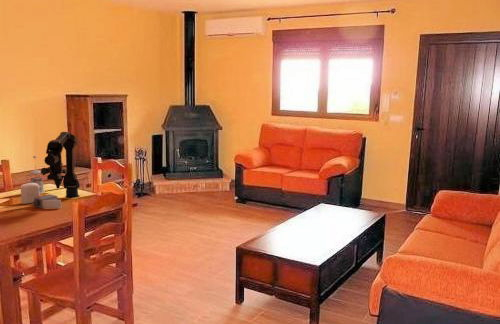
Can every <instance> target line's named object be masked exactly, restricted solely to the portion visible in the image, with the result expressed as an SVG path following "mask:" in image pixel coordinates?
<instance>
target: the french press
mask: <svg viewBox="0 0 500 324" xmlns="http://www.w3.org/2000/svg"><path fill="white" fill-rule="evenodd" d="M32 158H34V159H36V158H37V156H36V155H33V156H32ZM34 165H35V166H34V167H35V169H34V170H31V171H30V172H29V174H28V175H27V176H26V177H25V179H26V180H25V181H26V183H37V184H38V185H39V194H40V195H41V194H44V193H46V191H45V189H44V180H43V178H42V177H38V176H35V177H32V175H40V174H41V175H42V173H41V170H38V169H37V167H36V164H34ZM29 177H31V178H30V181H29V180H28V178H29Z"/></svg>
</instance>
